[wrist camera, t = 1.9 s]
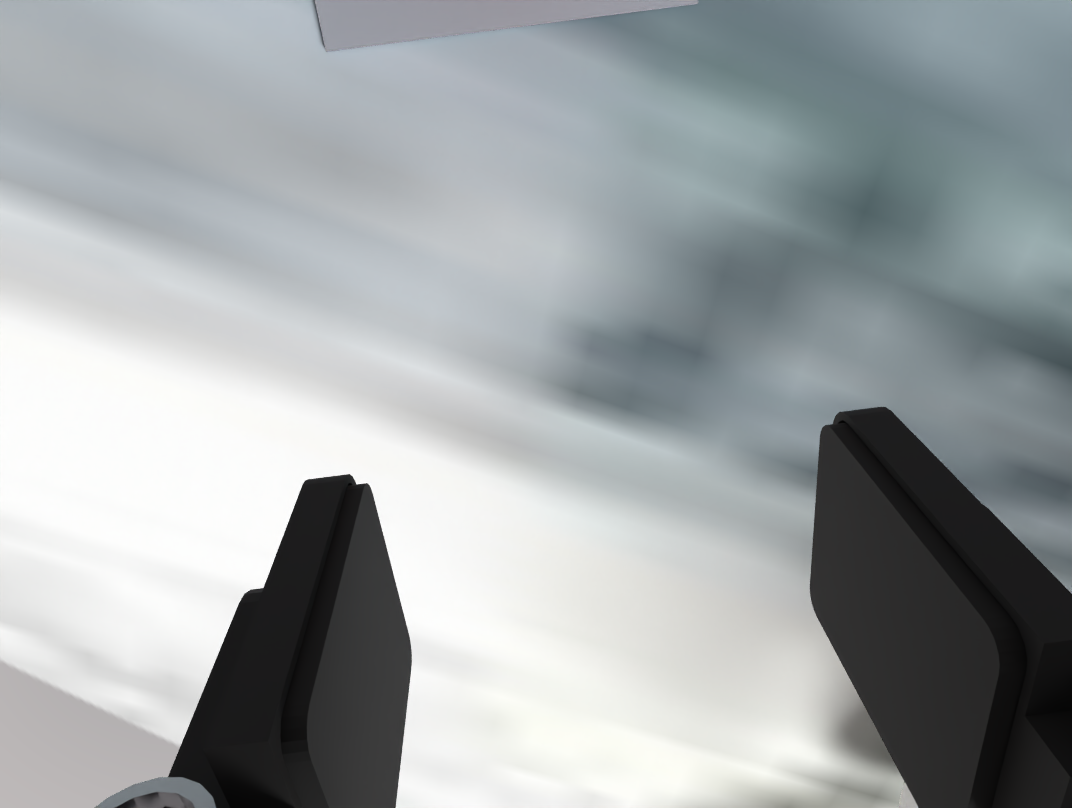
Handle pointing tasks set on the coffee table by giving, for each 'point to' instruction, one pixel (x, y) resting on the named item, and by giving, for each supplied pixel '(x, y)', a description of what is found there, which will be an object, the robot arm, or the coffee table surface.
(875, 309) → the coffee table surface
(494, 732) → the coffee table surface
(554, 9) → the lane
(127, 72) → the coffee table surface
